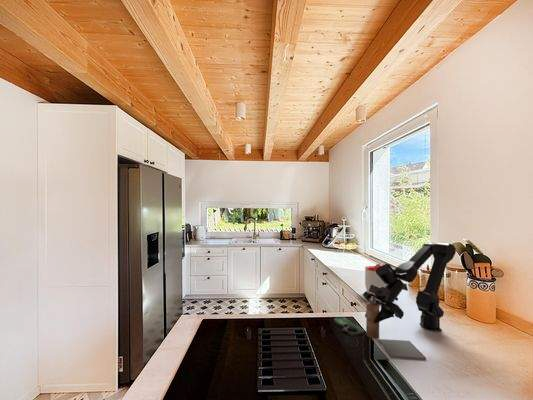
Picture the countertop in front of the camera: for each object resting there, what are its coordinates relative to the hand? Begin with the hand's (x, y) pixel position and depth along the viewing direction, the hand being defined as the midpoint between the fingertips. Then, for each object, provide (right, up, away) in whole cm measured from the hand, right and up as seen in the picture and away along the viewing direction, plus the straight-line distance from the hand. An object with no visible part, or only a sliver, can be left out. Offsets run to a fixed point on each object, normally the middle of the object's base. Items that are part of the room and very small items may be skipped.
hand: (369, 319), depth 108 cm
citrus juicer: (+26, -10, +52) cm, 59 cm away
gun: (-7, -7, +8) cm, 13 cm away
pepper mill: (+1, -7, 0) cm, 7 cm away
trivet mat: (+7, -6, -11) cm, 14 cm away
